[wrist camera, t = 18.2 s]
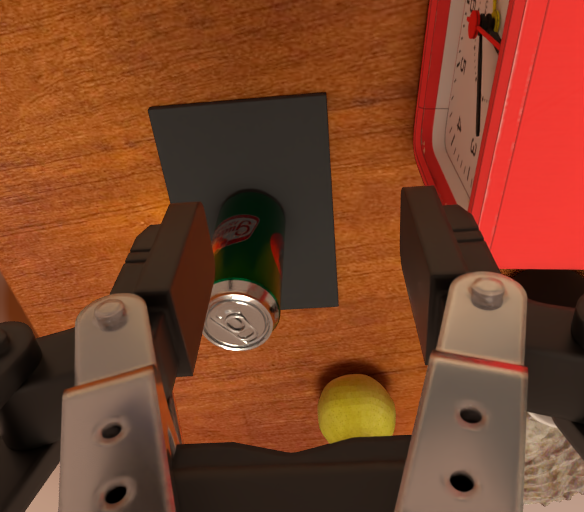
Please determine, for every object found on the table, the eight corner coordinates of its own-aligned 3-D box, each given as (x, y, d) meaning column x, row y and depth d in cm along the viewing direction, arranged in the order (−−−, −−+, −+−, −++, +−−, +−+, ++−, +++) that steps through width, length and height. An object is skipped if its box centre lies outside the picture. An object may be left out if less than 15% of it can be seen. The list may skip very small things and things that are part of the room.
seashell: (472, 398, 49) (566, 495, 43) (546, 350, 53) (644, 433, 46) (448, 470, 60) (521, 556, 53) (512, 426, 63) (588, 503, 56)
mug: (495, 346, 50) (533, 442, 41) (472, 271, 45) (510, 361, 37) (639, 307, 47) (711, 401, 39) (630, 222, 42) (710, 308, 34)
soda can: (255, 175, 40) (239, 274, 30) (299, 223, 42) (297, 330, 32) (204, 213, 42) (173, 318, 32) (249, 257, 44) (232, 368, 34)
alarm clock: (643, -225, 28) (937, -310, 15) (543, 150, 39) (661, 287, 26) (448, -223, 28) (571, -305, 15) (405, 149, 39) (453, 285, 26)
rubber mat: (149, 106, 38) (147, 109, 38) (325, 92, 37) (326, 95, 37) (198, 310, 48) (197, 314, 48) (338, 302, 47) (338, 306, 47)
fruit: (393, 357, 51) (414, 474, 41) (387, 408, 55) (406, 526, 45) (316, 357, 51) (319, 474, 41) (317, 408, 55) (319, 526, 45)
